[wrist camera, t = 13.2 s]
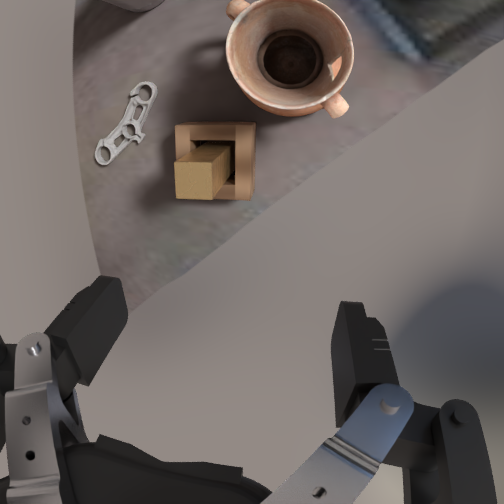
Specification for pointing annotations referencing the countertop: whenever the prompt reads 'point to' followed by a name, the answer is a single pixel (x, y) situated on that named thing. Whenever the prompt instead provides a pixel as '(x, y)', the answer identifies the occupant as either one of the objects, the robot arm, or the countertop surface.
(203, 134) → the walnut block
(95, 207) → the countertop surface
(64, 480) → the robot arm
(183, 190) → the tan wooden square peg
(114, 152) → the bracket
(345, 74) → the ceramic jug
